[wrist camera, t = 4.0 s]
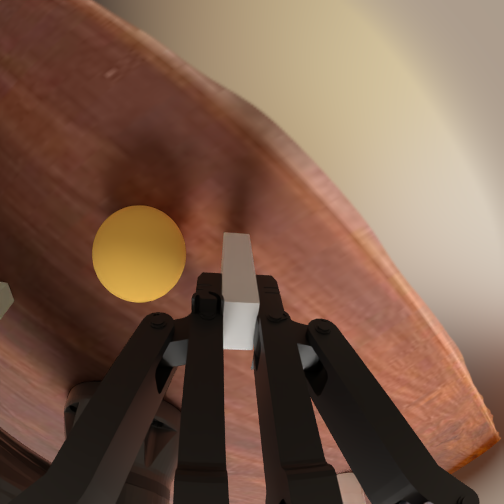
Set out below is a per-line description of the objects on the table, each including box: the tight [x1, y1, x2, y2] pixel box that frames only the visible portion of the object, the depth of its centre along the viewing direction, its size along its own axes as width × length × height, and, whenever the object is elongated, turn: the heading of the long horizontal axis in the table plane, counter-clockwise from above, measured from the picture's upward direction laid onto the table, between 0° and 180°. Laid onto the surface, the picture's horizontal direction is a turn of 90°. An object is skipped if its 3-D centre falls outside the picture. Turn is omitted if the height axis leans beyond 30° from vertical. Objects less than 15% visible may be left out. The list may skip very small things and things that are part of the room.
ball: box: [92, 205, 186, 302], centre depth 17 cm, size 6×6×6 cm
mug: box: [337, 473, 366, 504], centre depth 42 cm, size 12×9×8 cm
